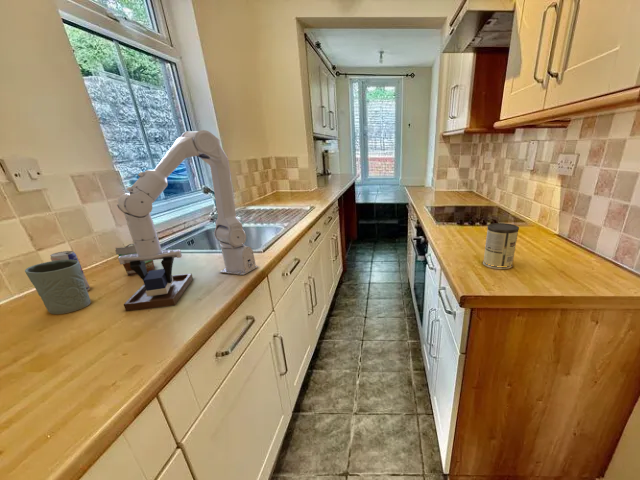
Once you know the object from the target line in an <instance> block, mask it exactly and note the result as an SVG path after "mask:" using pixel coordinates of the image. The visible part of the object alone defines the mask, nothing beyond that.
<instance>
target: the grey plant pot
mask: <svg viewBox="0 0 640 480" xmlns="http://www.w3.org/2000/svg"><path fill="white" fill-rule="evenodd" d="M79 263H80V261H79V260H78V261H77V260H57V261H45V262H42V263H41V262H40V263H37V264H34V265H31V266H29V267H26V268H25V269H24V272H25V274H26V276H27V278H28V279H29V281H30V283H31V284H32V286H33V287H34V289H35V290H36V292H37V294H38V296H39V297H40V299H41V300H42V302H43V305H44V307H45V309H46V310H47V312H48V313H49V314H51V315H63V314H69V313H73V312H76V311H80V310H82V309H84V308H86V307H88V306H90V305H91V302H92V301H91V297H90V295H89V291H87V290H86V285H85V283H84V278H83V274H82V271H81V268H82V266H81V267H80V265H81V263H80V264H79Z"/></svg>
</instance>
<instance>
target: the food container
mask: <svg viewBox="0 0 640 480" xmlns="http://www.w3.org/2000/svg"><path fill="white" fill-rule="evenodd" d="M135 253H137V251H136V249H135V246H134V243H130V244H128V245H126V246H124V247H115V255H118V257H119V256H123V255H129V254H135ZM122 266H123V267H124V269H125V272H126V275H127V276H139V275H138V274H137V273H136V272H135V271H133V270H132V269H131V268H130V263H125V264H122ZM145 266H146V270H147V273H148V272H149V271H150V270H155V267H156V266H155V264H154V260H149V261H145Z"/></svg>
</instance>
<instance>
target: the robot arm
mask: <svg viewBox="0 0 640 480" xmlns="http://www.w3.org/2000/svg"><path fill="white" fill-rule="evenodd" d="M220 141H221V140H220V138H219V137H217V136H216V135H215V134H214V133H212V132H211V131H209V130H205V129H201V130H194V131H193V130H187V131H184V132H183V133H182V134H181V136H179V137H177V138H176V139H175V141H174V143H173V144H172V145H171V147H170V148H169V149H168V151H166V153H165V155H164V156H163V157H162V159H160V161H159V162H158V164H157V165H156V166H155V168H154V169H146V170H144V171H139V173H137V176H138V178H137V180H136V181H135V182H134V183H133V184H132V186H128V187H127V188H126V191H127V192H125V193H122V194H120V196H119V197H118V199H117V204H116V207H117V208H118V209H119V211H120V212H121V213H123V215H124V218H125V221H126V225H127V229H128V231H129V234H130V237H131V240H132V242H133V243H132V244H134V246H135V249H136V251H137V253H135V254H129V255H123V256H119V255H118V257H117V259H118V262H119V265H123V264H125V263H130V268H131V269H132V270H133V271H135V272H136V273H137V274H138V275H137V276H138V277H140V279H141V280H142V281H143V280H144V278H145V277H146V275H147V274H148V272H147V270H146V266H145V261H149V260H153V261H156V260H157V261H158V260H161V261H160V264H161V266H162V269H164V270H165V273H166V277H167V281H168V283H171V282H172V275H173V273H172V272H173V264H174V260H175V258H177V259H179V258H182V257H183V254H182V251H181V249H180V248H179V249H162V246H161V242H160V239H159V236H158V233H157V230H156V227H155V223H154V221H153V217H152V215H151V213H152V211H153V204H154V203H155V202H156V200H157V199H158V198H159V197H160V195H161V194H162V193H163V192H164V191H165V189H166V188H167V187H168V184H169V183H168V178H169V177H170V175H171V174H172V173H173V172H174V171H175V170H176V169H178V167H179V166H180V165H181V164H182V163H183V162H184V161H185V160H186V159H188V158H193V157H197V158H200V159H201V160H202V161H204V162H205V163H206V164H207V165H209V167H210V174H211V179H212V180H211V181H212V186H213V192H214V200H215V206H216V212H217V218H216V220H215V227H214V228H215V229H214V231H213V234H214V238H215V240H217V241H218V242H219V244H220V250H221V253H222V258H223V263H224V269H222V270H219V271H220V272H219V273H220V274H221V273H222V274H229V275H230V274H232V275H240V276H241V275H242V276H244V275H246V274H248V273H250V272H252V271H253V270H255V269H256V268H258V265H256V259H255V254H254V250H253V248H252V247H250V246H247V245H245V243H246V241H247V233H246V232H245V230H244V228H243V223H242V222H241V221H240V219H239V218H238V217H237V212H236V204H235V197H234V190H233V189H234V188H233V182H232V173H231V167H230V160H229V157H228V156H227V154H226V152H225V151H224V149H223V148H222V146H221V142H220Z"/></svg>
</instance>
